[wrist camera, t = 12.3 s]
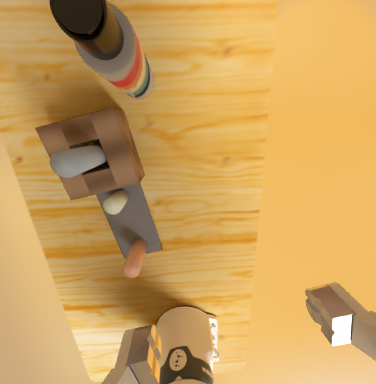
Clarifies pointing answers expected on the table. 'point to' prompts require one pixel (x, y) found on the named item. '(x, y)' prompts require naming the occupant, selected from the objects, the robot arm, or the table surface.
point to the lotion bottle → (106, 43)
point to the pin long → (77, 160)
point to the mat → (132, 221)
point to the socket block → (112, 146)
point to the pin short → (116, 201)
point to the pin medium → (135, 259)
